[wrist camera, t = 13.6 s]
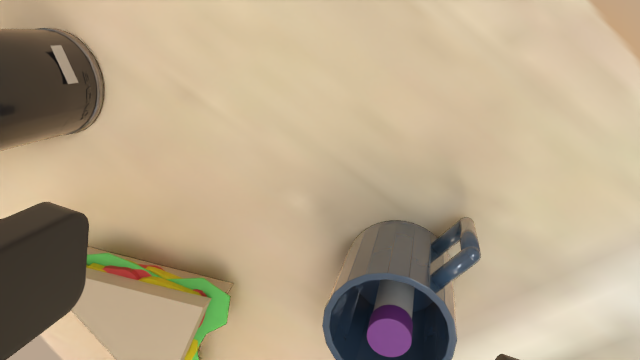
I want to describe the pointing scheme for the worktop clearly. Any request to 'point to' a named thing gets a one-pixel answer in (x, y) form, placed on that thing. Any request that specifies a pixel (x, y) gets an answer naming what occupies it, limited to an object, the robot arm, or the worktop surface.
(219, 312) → the sandwich
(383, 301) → the glue stick
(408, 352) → the mug
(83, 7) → the worktop surface
